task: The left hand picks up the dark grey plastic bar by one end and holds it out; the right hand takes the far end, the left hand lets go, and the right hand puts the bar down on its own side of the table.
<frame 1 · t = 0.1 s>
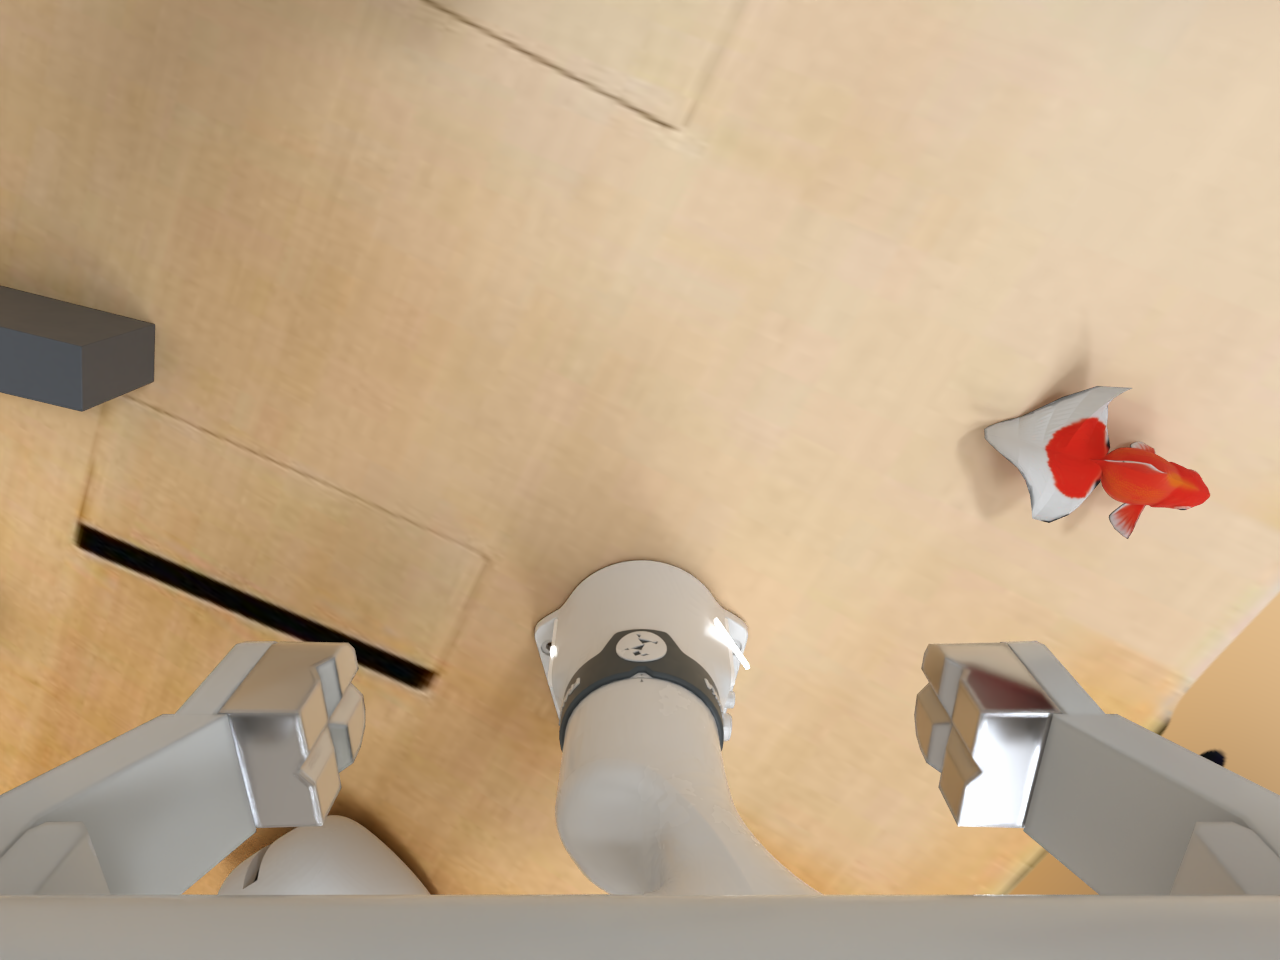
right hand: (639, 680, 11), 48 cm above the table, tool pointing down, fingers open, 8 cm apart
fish: (1062, 448, 60), on the table
white rounded device: (364, 882, 78), on the table
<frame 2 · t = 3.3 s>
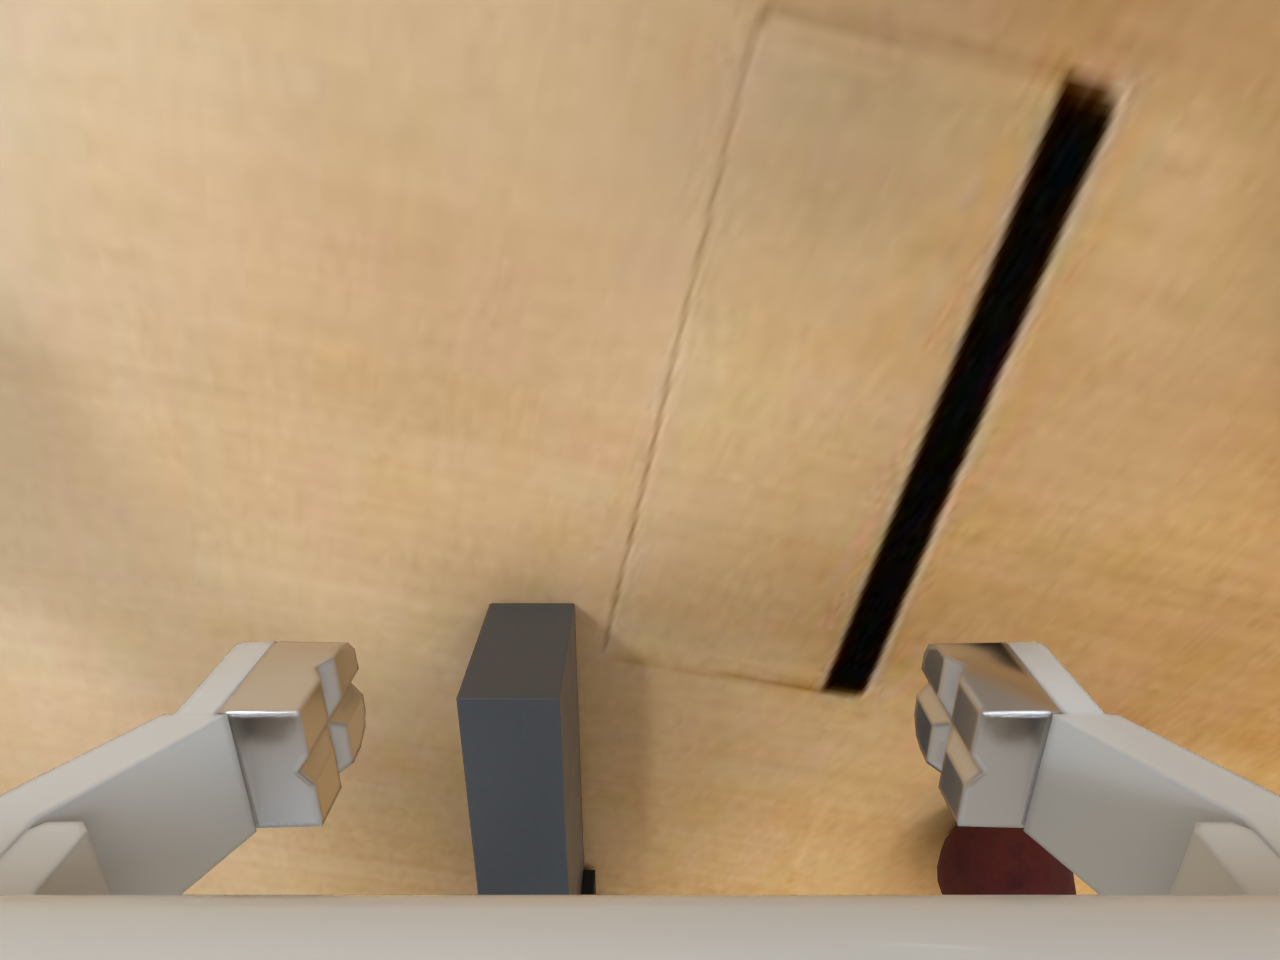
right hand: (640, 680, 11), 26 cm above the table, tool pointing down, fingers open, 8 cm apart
dark red plum: (977, 828, 47), on the table
bar: (542, 781, 45), on the table, touching left hand
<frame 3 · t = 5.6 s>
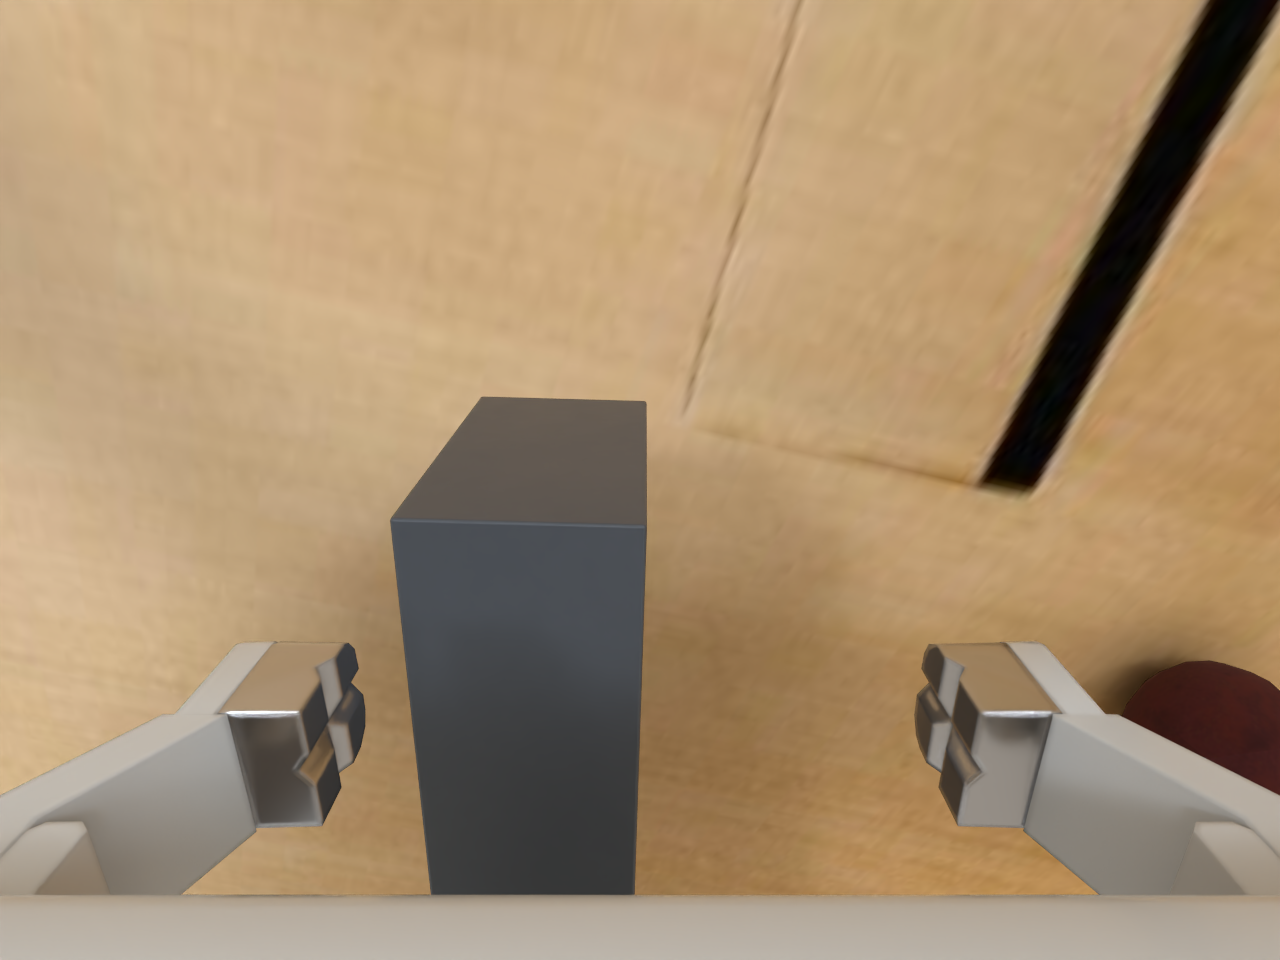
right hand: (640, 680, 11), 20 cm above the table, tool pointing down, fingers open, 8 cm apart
dark red plum: (1161, 696, 35), on the table
bar: (568, 751, 26), point 9 cm above the table, touching left hand
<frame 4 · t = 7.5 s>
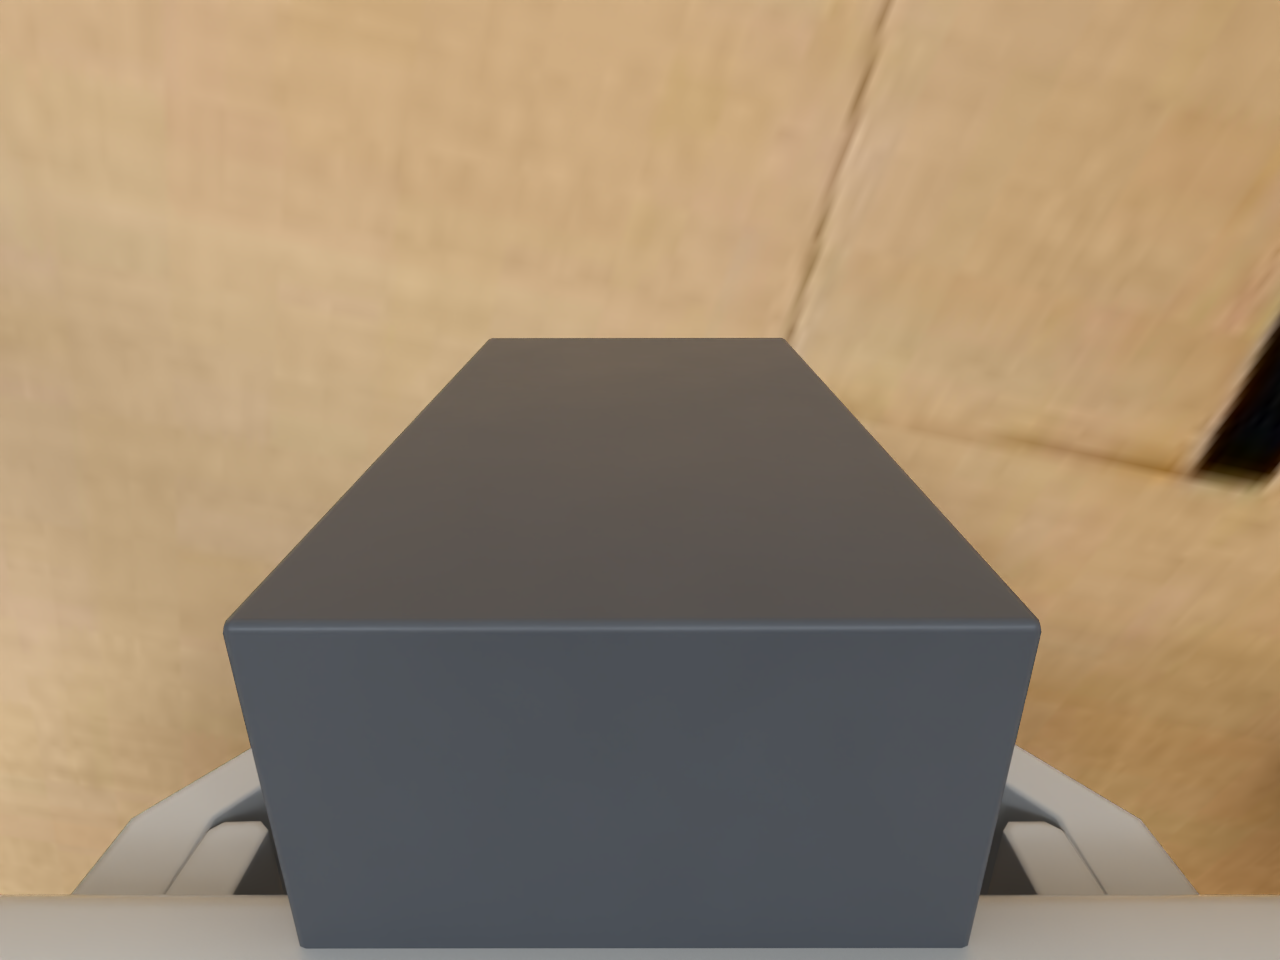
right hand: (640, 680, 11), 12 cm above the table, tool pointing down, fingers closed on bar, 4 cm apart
bar: (638, 909, 16), point 9 cm above the table, touching right hand, left hand
when the left hand's fingers open (10 cm above the table, at t = 8.2 s): bar stays where it is, held by the right hand.
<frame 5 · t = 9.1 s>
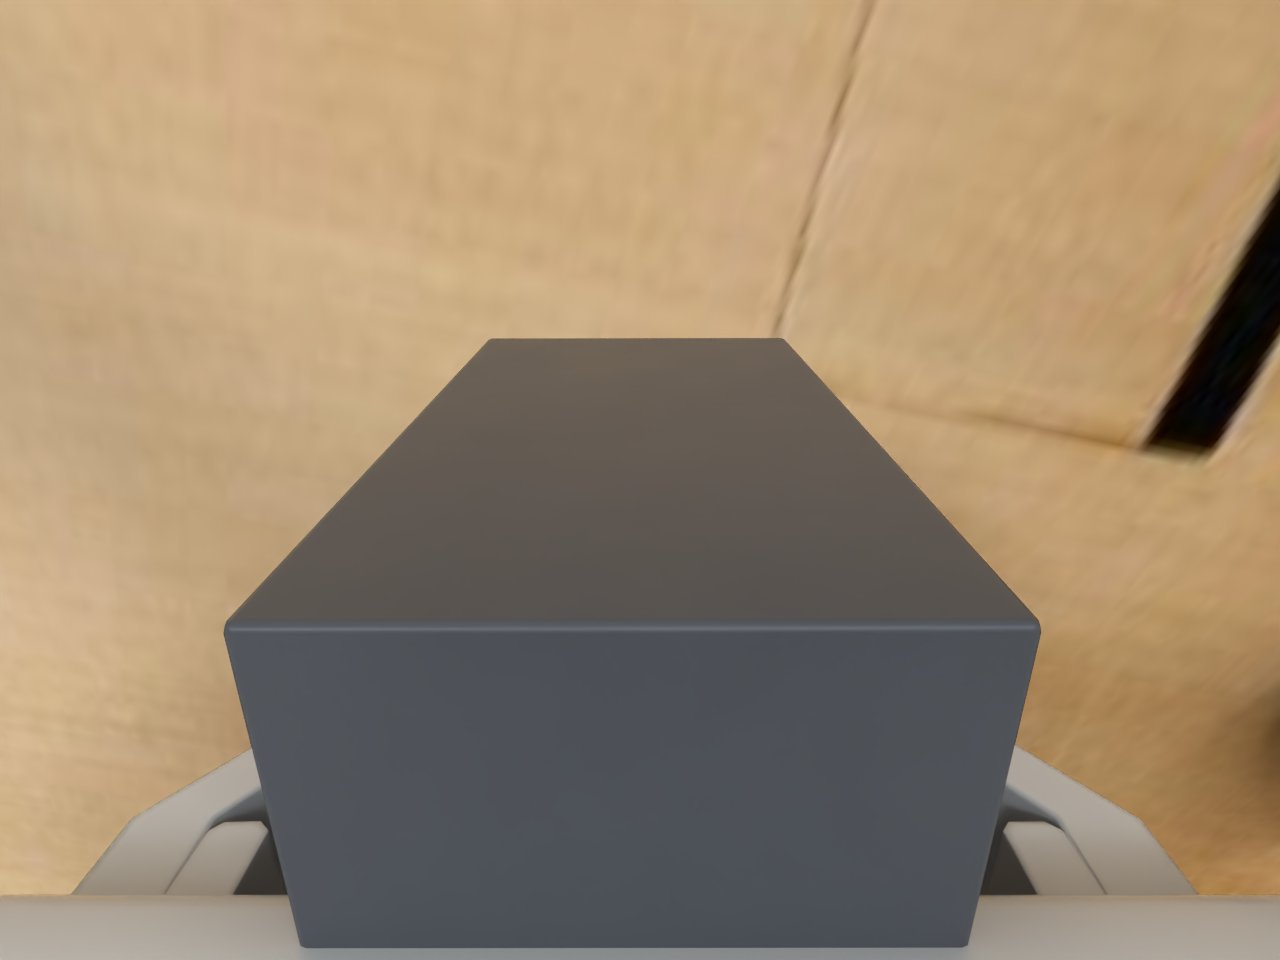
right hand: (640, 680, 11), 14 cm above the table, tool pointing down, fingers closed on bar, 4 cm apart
bar: (638, 909, 16), point 12 cm above the table, touching right hand
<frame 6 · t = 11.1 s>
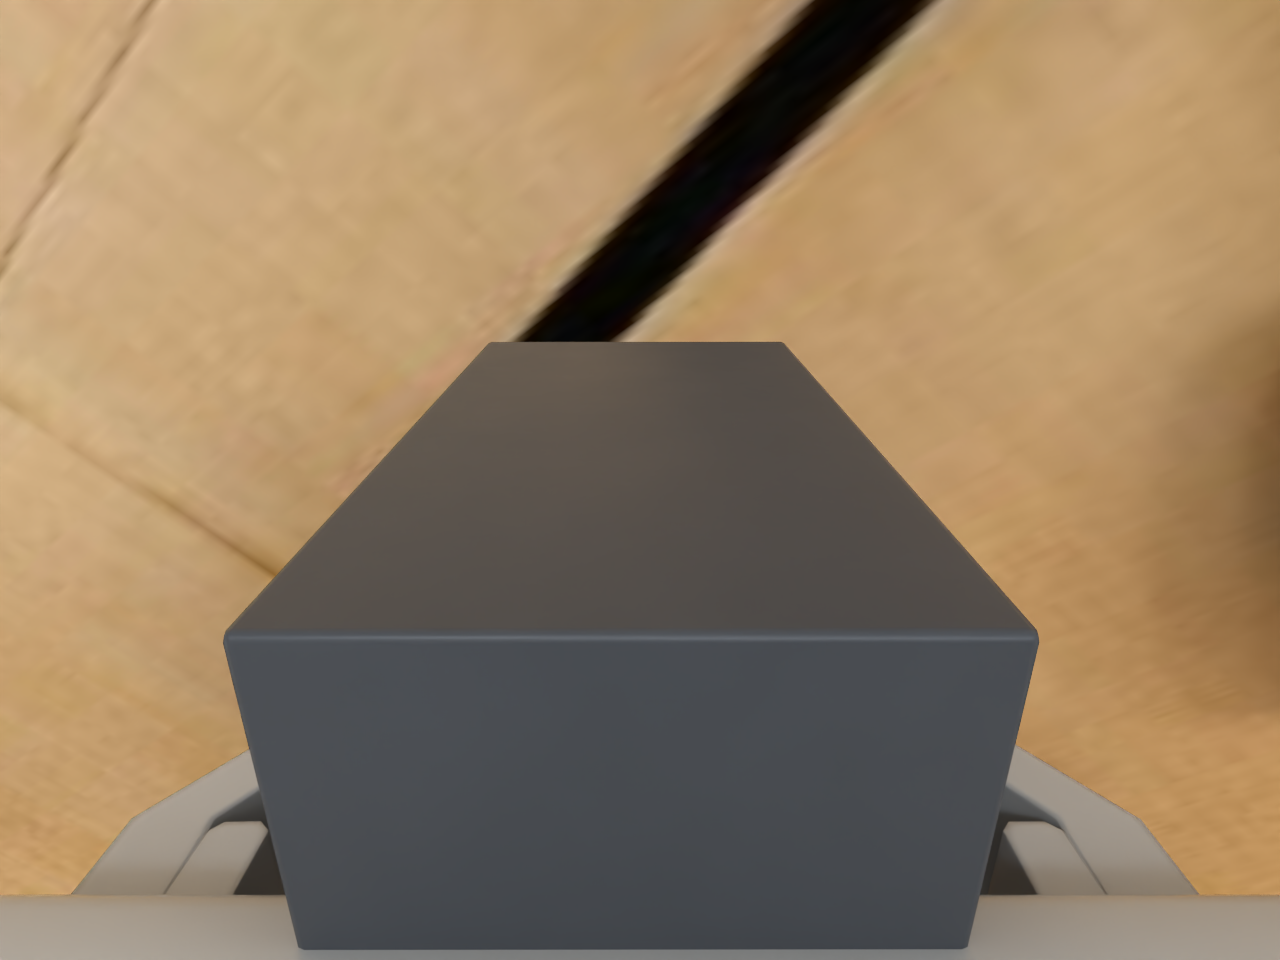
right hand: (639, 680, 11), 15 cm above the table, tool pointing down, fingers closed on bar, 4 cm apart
bar: (637, 911, 16), point 12 cm above the table, touching right hand
when the right hand's fingers open (5 cm above the table, at t = 12.6 s): bar drops 1 cm, on the table.
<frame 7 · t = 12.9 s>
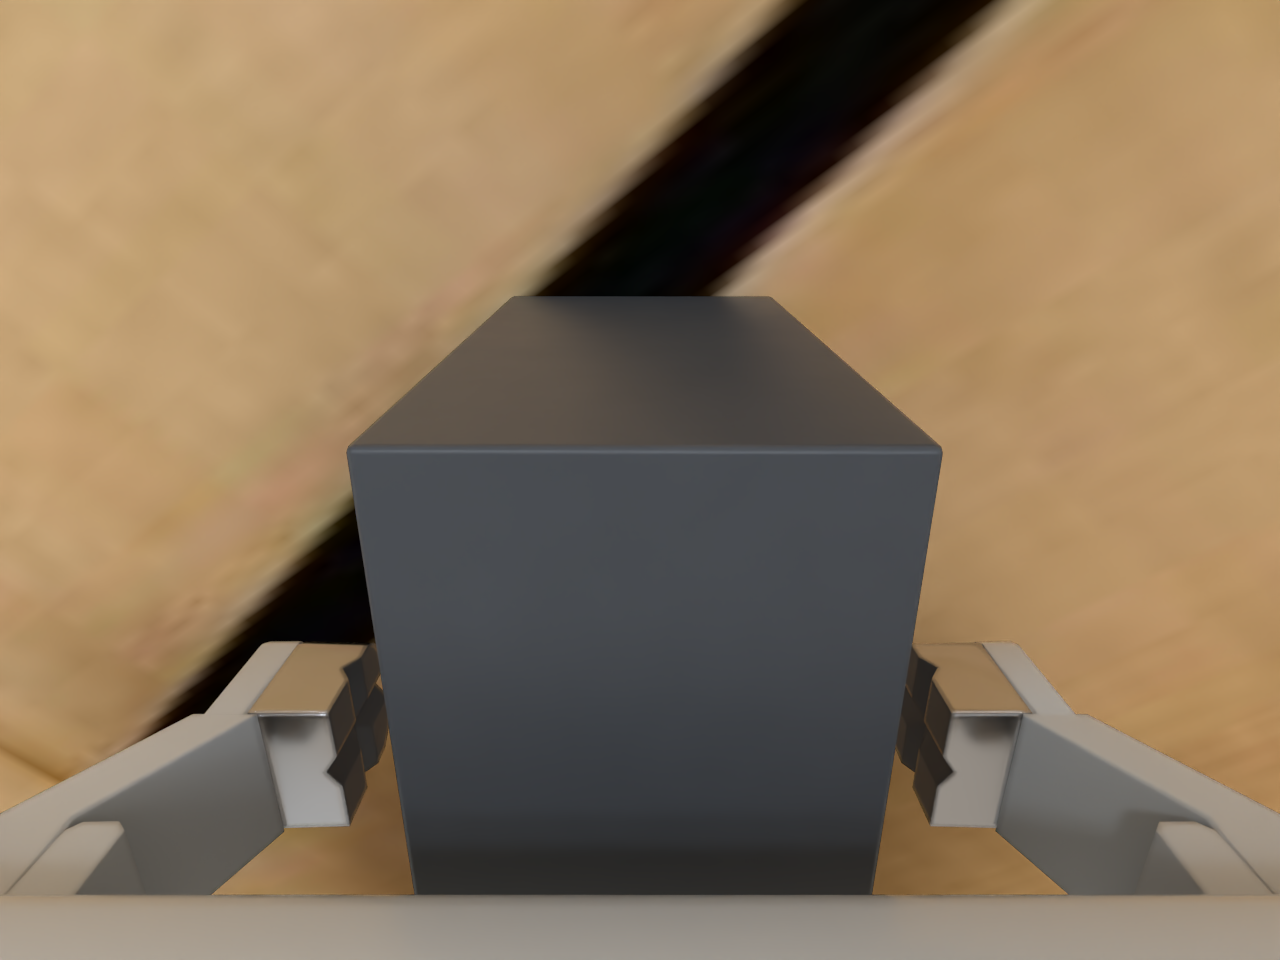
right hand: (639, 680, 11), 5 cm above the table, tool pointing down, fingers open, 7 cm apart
bar: (640, 829, 18), on the table
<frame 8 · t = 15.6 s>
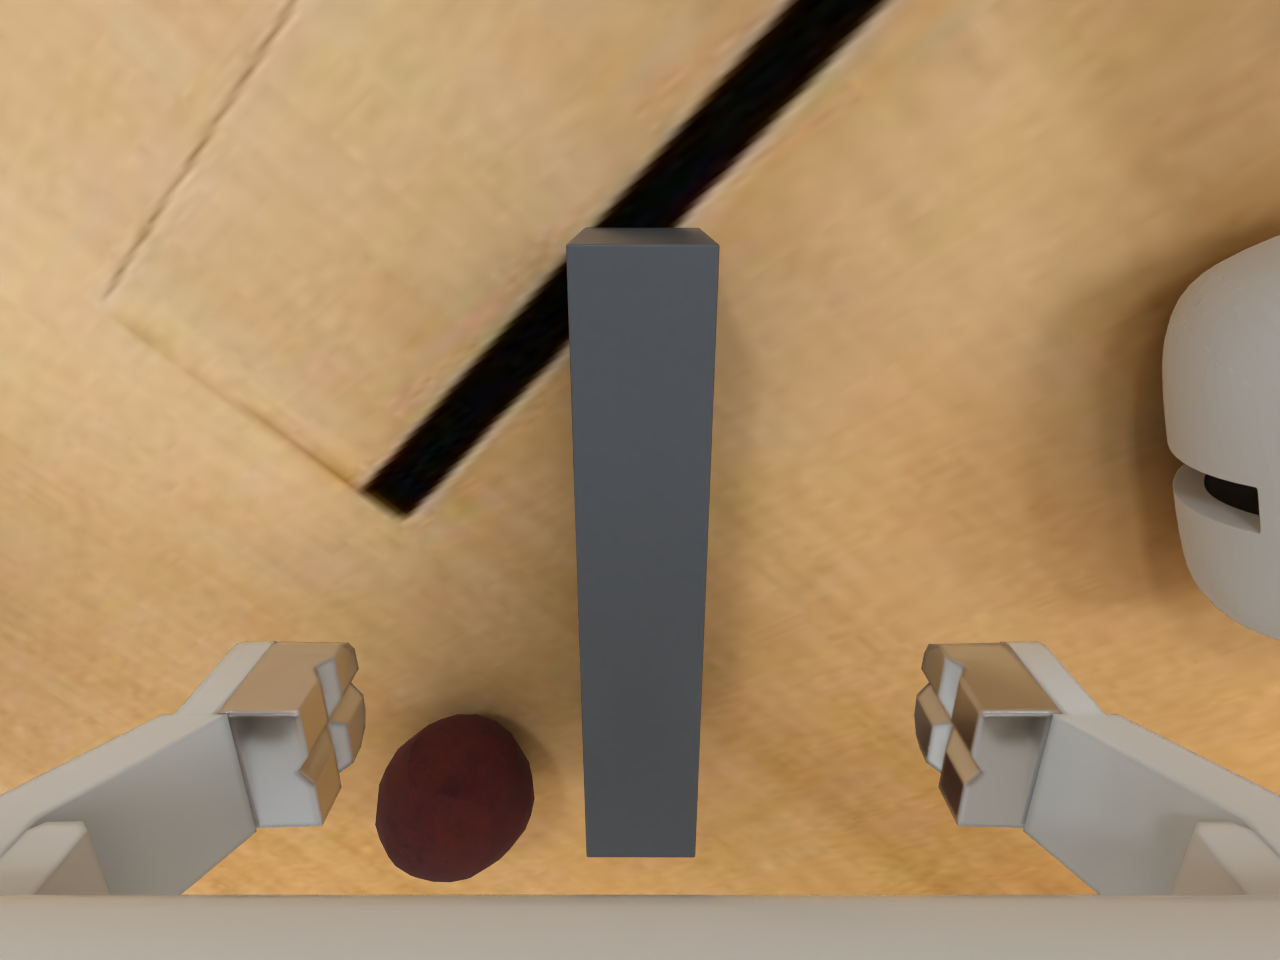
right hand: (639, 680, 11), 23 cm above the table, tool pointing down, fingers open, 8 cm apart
dark red plum: (473, 742, 40), on the table
bar: (641, 511, 35), on the table
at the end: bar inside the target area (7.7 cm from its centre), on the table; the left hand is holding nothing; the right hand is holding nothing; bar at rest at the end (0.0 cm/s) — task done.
